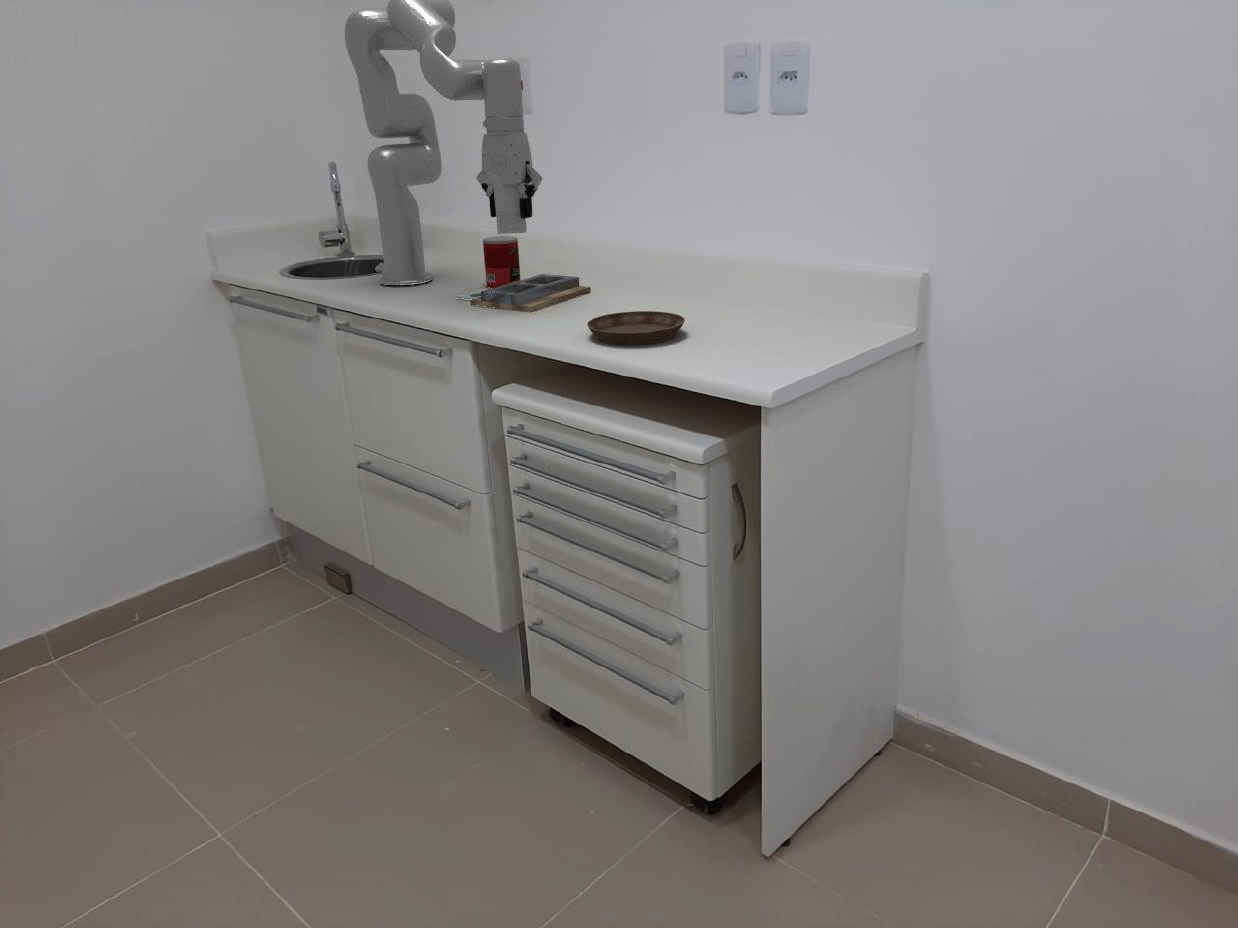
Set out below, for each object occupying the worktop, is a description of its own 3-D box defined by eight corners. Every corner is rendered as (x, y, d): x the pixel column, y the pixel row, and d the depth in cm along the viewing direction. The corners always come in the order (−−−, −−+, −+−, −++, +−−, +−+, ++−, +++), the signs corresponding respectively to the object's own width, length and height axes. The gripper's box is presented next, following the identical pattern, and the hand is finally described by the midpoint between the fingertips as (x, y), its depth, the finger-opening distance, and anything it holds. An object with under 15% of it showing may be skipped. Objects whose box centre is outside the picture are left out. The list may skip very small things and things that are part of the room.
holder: (470, 305, 205) (469, 290, 204) (533, 287, 222) (532, 273, 221) (530, 312, 197) (529, 296, 196) (590, 292, 214) (590, 278, 213)
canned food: (519, 289, 221) (515, 240, 217) (484, 290, 221) (480, 241, 217) (522, 283, 228) (519, 235, 224) (489, 283, 228) (485, 236, 224)
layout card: (456, 299, 212) (456, 295, 212) (485, 290, 220) (485, 287, 220) (481, 301, 209) (480, 298, 208) (509, 293, 216) (509, 289, 216)
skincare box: (526, 230, 203) (523, 170, 198) (526, 233, 199) (522, 172, 194) (497, 231, 202) (492, 171, 198) (496, 234, 198) (492, 173, 194)
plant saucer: (567, 340, 175) (566, 323, 174) (630, 321, 187) (629, 306, 186) (642, 354, 164) (642, 336, 163) (704, 333, 177) (704, 317, 175)
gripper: (459, 127, 194) (467, 218, 201) (528, 126, 186) (534, 221, 192) (483, 125, 200) (490, 213, 207) (551, 125, 192) (556, 216, 198)
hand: (511, 216), depth 199 cm, fingers closed on skincare box, 7 cm apart
